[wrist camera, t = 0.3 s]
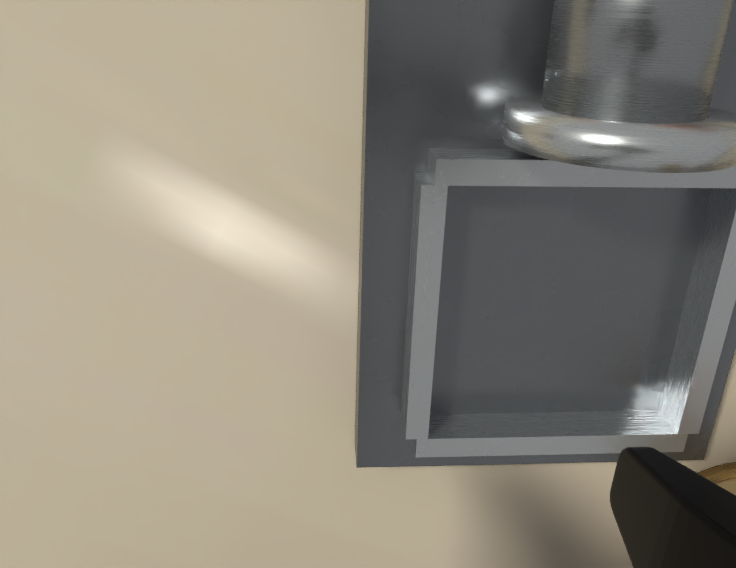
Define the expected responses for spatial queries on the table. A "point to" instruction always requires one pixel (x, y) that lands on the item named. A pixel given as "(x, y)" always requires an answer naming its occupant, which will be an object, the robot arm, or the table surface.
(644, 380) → the socket plate
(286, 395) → the table surface
